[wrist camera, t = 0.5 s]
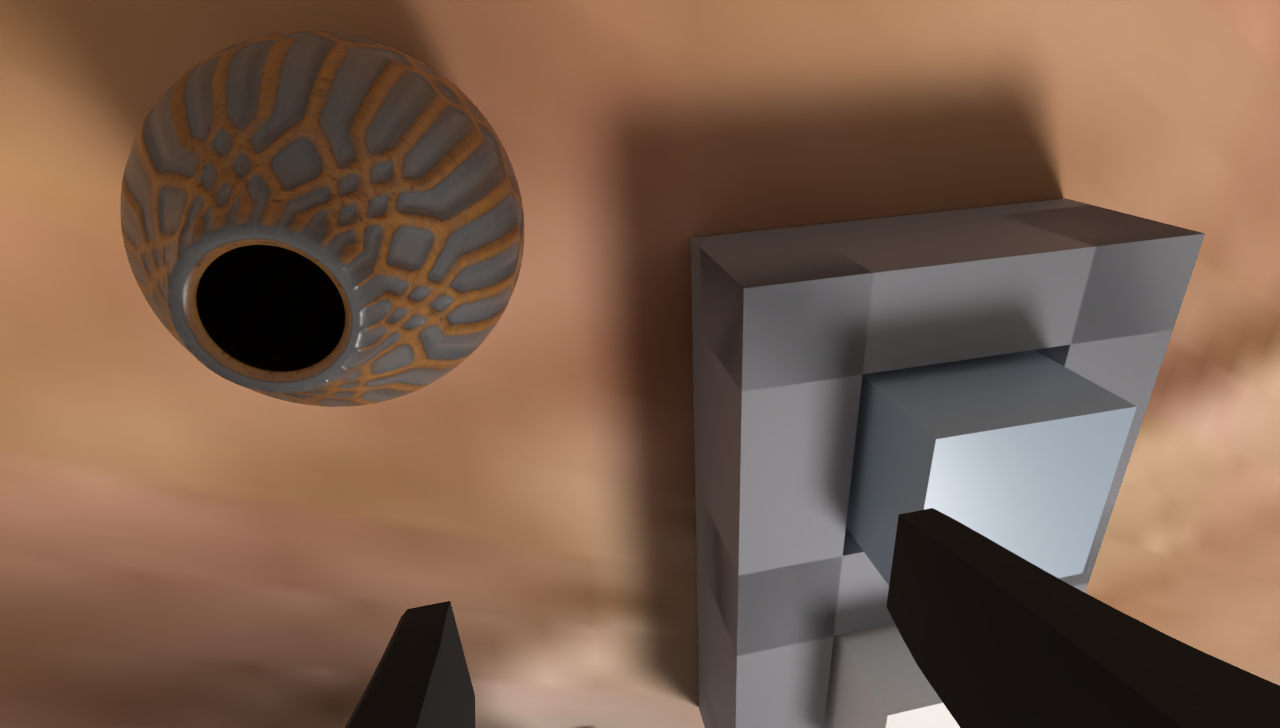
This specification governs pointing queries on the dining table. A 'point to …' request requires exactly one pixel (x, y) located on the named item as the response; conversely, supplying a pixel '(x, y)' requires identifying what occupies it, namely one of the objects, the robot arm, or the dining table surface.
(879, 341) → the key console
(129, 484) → the dining table surface
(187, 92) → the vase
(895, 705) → the white block
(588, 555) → the dining table surface
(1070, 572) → the slate key
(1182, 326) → the dining table surface
